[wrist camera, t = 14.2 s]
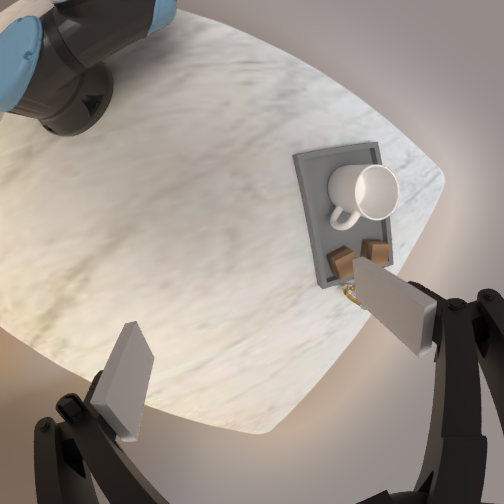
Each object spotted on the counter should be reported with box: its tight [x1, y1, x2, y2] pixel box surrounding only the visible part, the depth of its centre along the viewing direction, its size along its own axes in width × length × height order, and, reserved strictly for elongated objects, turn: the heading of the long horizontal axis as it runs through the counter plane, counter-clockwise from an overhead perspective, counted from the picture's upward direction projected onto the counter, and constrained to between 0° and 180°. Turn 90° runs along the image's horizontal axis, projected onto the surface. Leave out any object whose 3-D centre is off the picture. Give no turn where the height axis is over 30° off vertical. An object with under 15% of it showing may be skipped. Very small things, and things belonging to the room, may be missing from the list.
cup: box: [328, 164, 399, 230], centre depth 42 cm, size 8×12×10 cm
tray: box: [293, 142, 393, 289], centre depth 47 cm, size 24×16×2 cm, turn 14°
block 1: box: [326, 246, 357, 281], centre depth 48 cm, size 4×4×4 cm
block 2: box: [360, 239, 390, 266], centre depth 48 cm, size 4×4×4 cm
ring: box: [342, 284, 367, 310], centre depth 49 cm, size 7×3×8 cm, turn 66°
